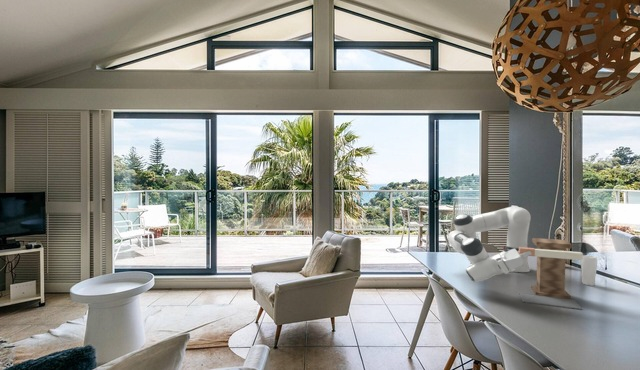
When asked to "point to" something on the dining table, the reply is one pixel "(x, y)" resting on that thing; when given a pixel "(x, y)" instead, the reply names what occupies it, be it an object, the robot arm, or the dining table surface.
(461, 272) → the dining table surface
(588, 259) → the drinking glass
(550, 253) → the white stick tan end
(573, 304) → the mat
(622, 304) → the dining table surface
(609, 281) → the dining table surface
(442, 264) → the dining table surface
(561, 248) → the walnut stand
